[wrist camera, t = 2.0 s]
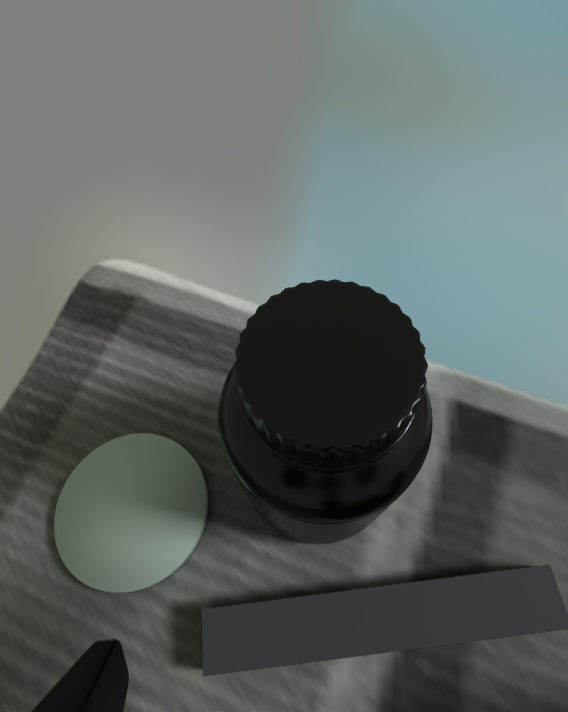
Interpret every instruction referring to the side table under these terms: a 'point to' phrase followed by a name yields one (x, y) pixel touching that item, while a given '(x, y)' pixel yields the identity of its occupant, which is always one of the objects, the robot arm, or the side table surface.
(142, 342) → the side table surface
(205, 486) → the pad
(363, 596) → the dark grey slat
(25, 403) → the side table surface
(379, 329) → the supplement bottle
